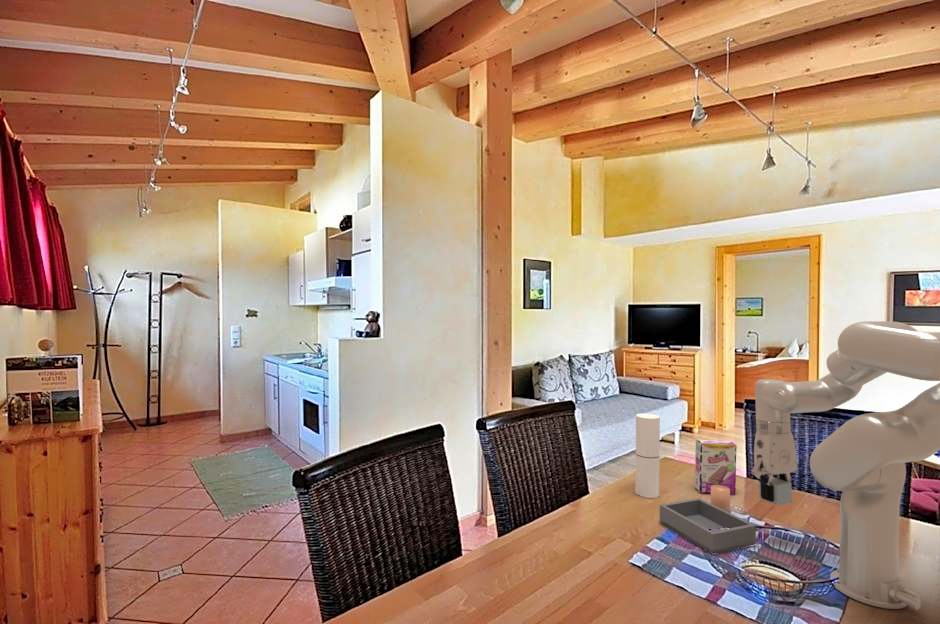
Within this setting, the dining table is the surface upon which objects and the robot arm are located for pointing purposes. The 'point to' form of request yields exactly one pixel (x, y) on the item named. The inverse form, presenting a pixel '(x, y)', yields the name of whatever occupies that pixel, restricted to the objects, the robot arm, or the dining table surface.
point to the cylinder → (720, 497)
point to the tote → (707, 525)
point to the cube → (780, 492)
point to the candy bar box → (715, 465)
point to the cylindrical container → (647, 455)
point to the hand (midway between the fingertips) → (775, 497)
